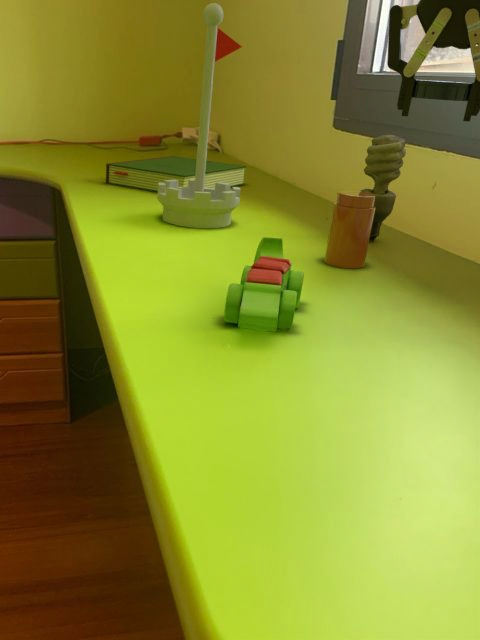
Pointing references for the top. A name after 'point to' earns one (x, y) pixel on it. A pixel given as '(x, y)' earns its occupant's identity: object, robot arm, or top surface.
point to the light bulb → (383, 175)
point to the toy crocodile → (265, 290)
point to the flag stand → (203, 149)
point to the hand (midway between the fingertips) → (435, 117)
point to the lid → (441, 90)
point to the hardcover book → (170, 172)
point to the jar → (350, 229)
